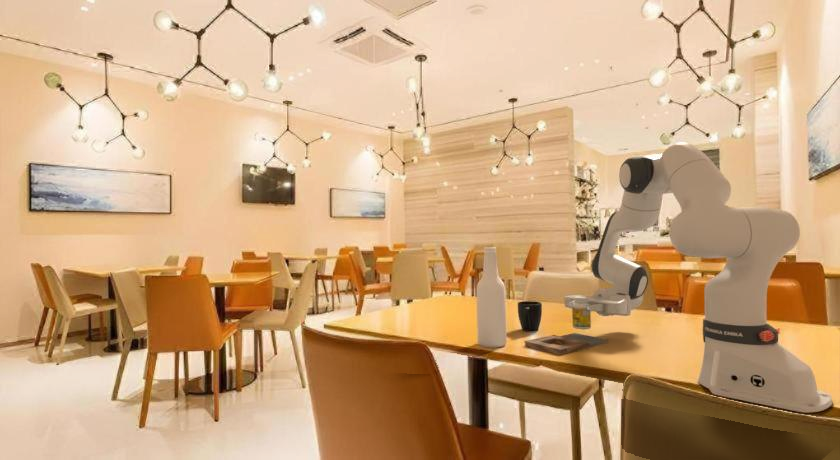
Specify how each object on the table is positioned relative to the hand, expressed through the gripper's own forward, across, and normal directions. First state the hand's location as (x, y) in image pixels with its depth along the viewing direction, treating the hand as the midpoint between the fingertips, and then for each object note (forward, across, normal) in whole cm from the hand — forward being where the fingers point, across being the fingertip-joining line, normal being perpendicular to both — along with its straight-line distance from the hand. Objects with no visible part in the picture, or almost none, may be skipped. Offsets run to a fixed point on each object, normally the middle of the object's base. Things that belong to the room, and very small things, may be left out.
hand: (579, 307), depth 142 cm
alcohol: (+24, -14, +11) cm, 30 cm away
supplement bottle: (-1, 0, +7) cm, 7 cm away
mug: (+1, -20, +11) cm, 23 cm away
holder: (+11, 0, +11) cm, 15 cm away
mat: (-1, 0, +11) cm, 11 cm away
